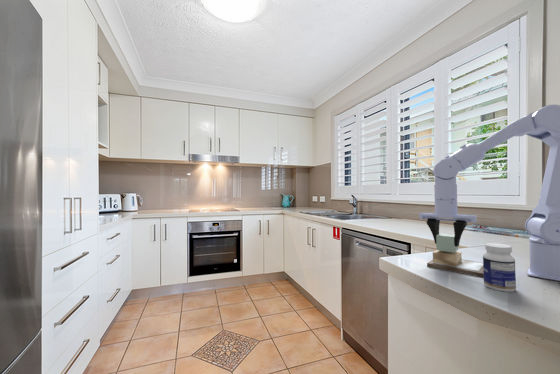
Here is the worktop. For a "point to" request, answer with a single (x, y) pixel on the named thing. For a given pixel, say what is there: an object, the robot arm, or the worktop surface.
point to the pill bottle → (499, 267)
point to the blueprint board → (455, 263)
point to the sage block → (446, 243)
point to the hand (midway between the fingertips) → (446, 244)
